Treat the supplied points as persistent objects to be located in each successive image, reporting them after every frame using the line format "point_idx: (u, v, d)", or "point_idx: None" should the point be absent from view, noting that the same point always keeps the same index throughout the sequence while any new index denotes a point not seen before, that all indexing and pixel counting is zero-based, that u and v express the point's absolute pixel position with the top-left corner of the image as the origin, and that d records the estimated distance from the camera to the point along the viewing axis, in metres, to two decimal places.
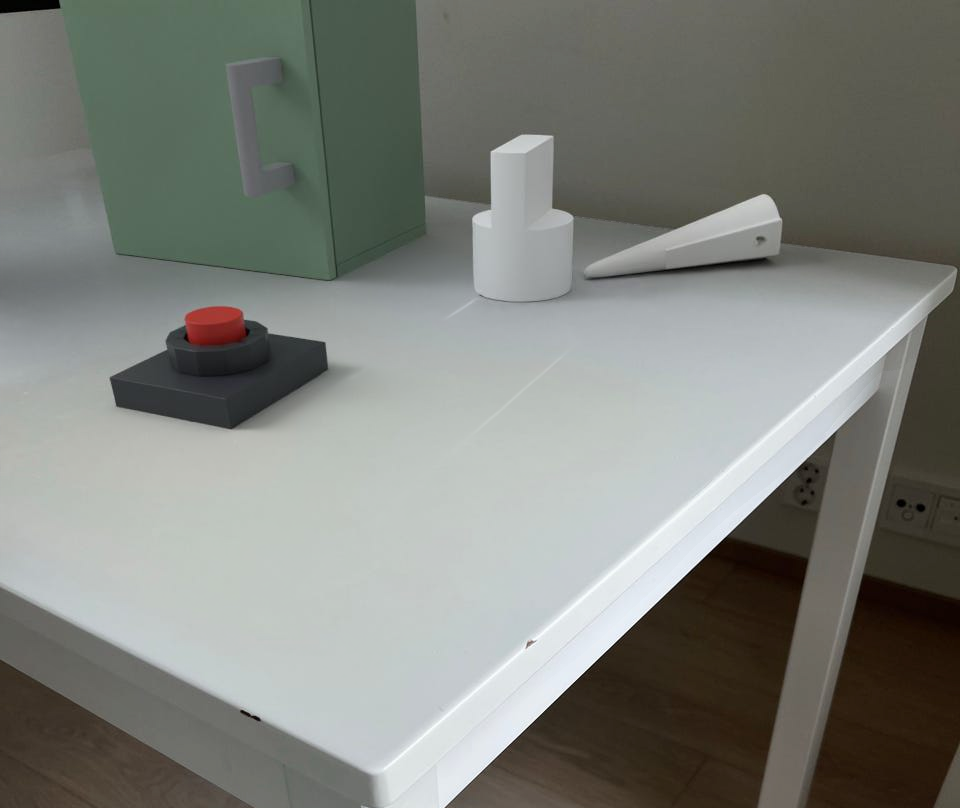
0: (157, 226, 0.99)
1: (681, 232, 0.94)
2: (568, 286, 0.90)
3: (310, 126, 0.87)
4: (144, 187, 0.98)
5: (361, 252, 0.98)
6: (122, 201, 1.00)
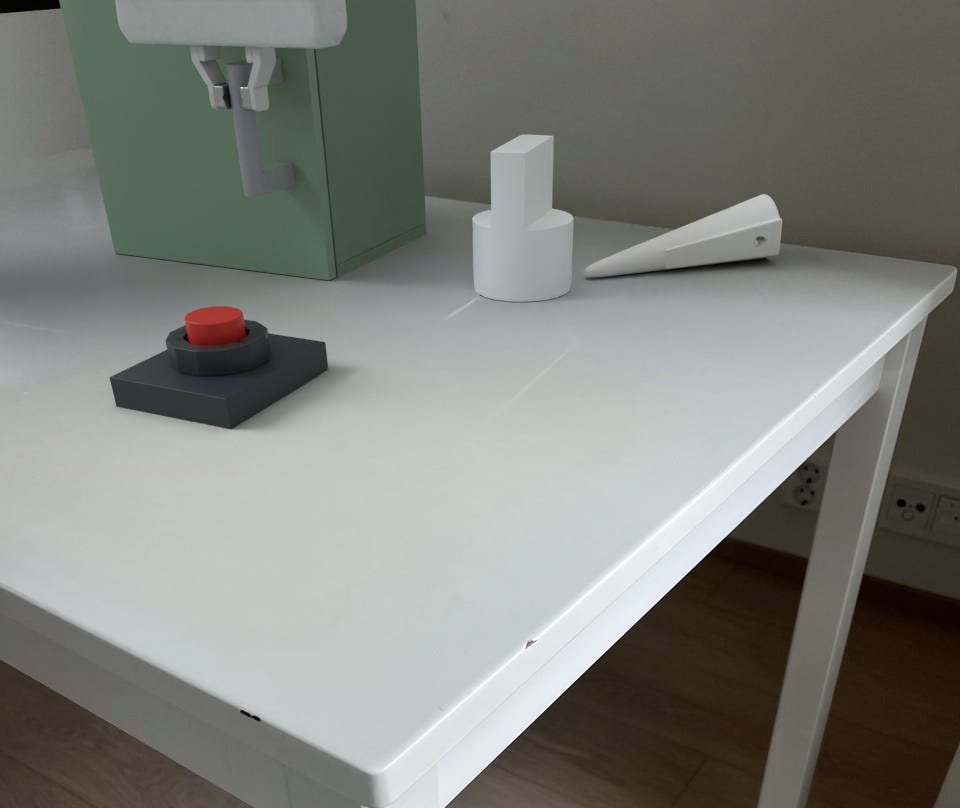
0: (157, 226, 0.99)
1: (681, 232, 0.94)
2: (568, 286, 0.90)
3: (310, 126, 0.87)
4: (144, 187, 0.98)
5: (361, 252, 0.98)
6: (122, 201, 1.00)
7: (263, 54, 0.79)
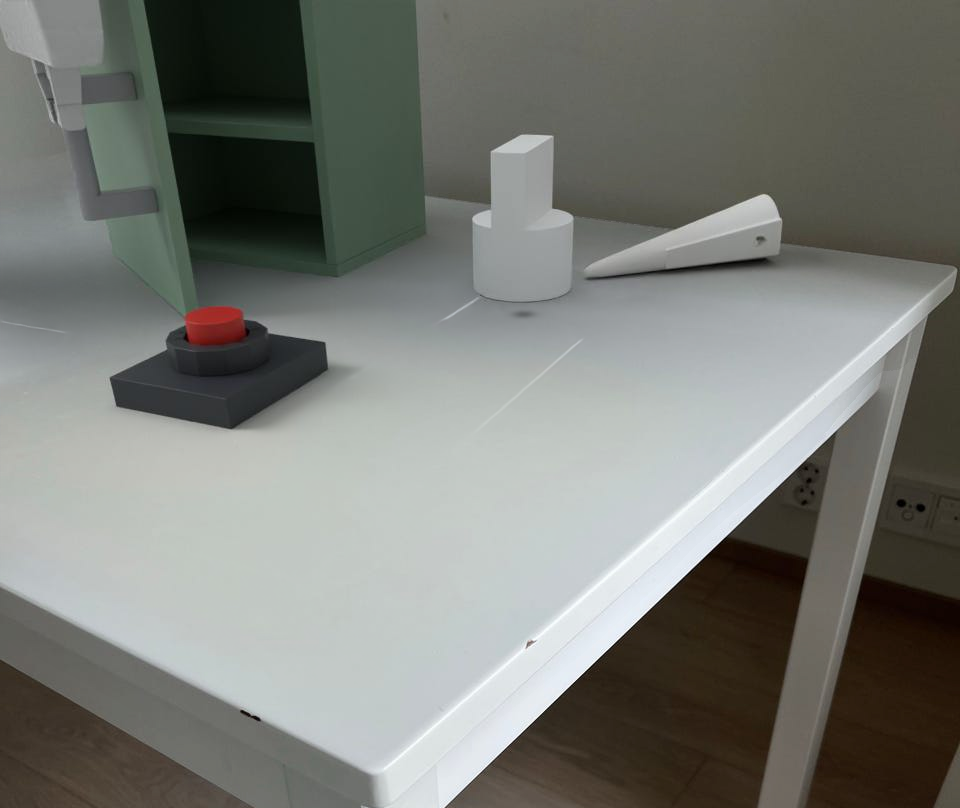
0: (121, 233, 0.97)
1: (681, 232, 0.94)
2: (568, 286, 0.90)
3: (154, 152, 0.78)
4: None
5: (361, 252, 0.98)
6: None
7: (56, 70, 0.72)
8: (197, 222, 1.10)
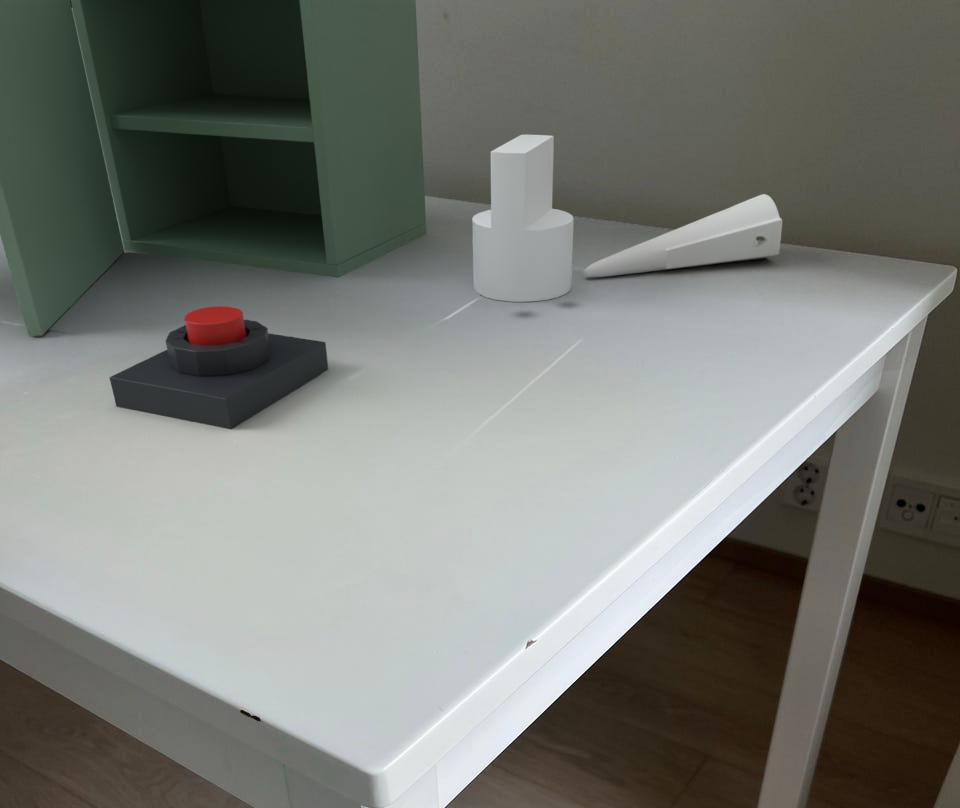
0: None
1: (681, 232, 0.94)
2: (568, 286, 0.90)
3: None
4: None
5: (361, 252, 0.98)
6: None
7: None
8: (197, 222, 1.10)
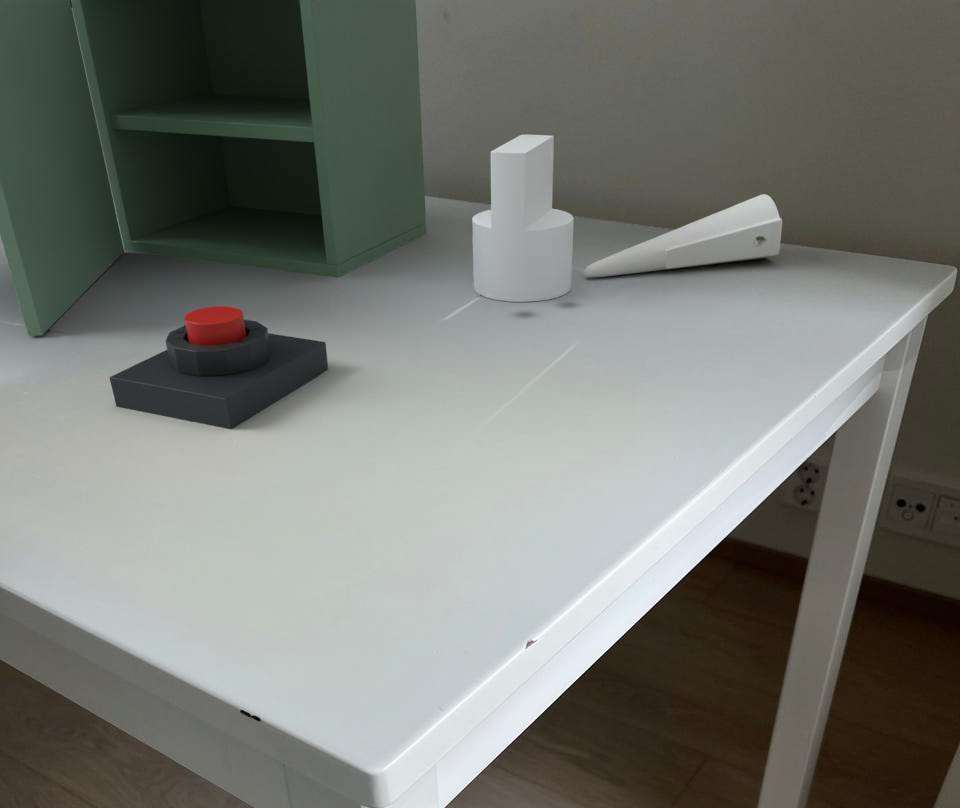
0: None
1: (681, 232, 0.94)
2: (568, 286, 0.90)
3: None
4: None
5: (361, 252, 0.98)
6: None
7: None
8: (197, 222, 1.10)
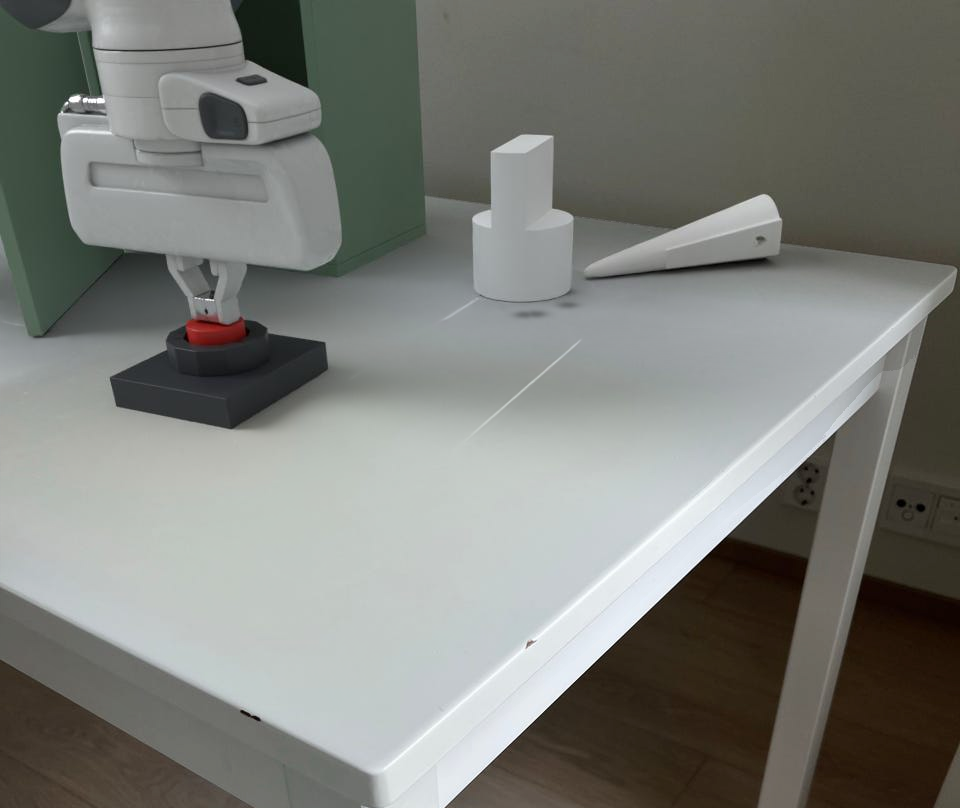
0: None
1: (681, 232, 0.94)
2: (568, 286, 0.90)
3: None
4: None
5: (361, 252, 0.98)
6: None
7: (231, 266, 0.66)
8: None
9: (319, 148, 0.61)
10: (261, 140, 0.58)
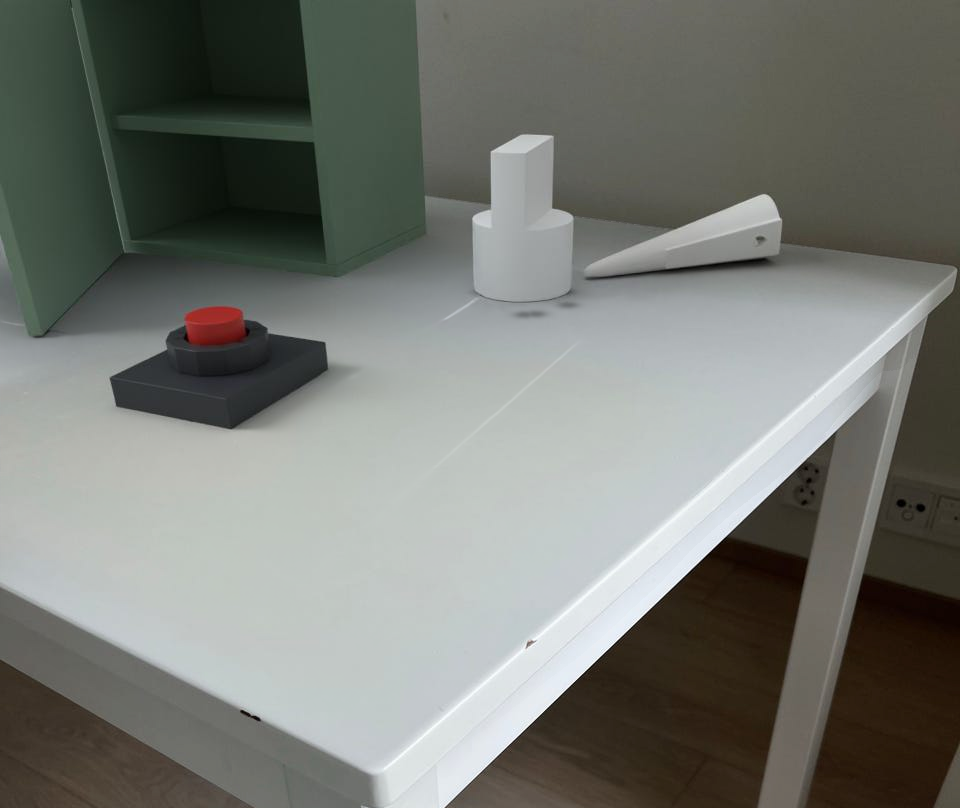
0: None
1: (681, 232, 0.94)
2: (568, 286, 0.90)
3: None
4: None
5: (361, 252, 0.98)
6: None
7: None
8: (197, 222, 1.10)
9: None
10: None
